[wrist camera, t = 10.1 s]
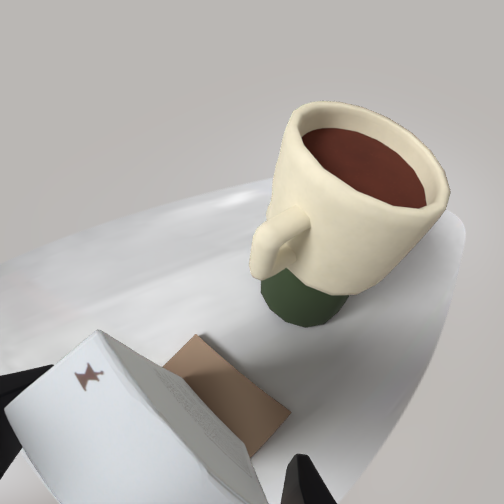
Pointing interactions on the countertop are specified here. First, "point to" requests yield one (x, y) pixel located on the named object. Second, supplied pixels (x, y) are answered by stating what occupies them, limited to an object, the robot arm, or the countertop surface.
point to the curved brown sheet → (228, 393)
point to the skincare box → (128, 433)
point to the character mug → (342, 209)
